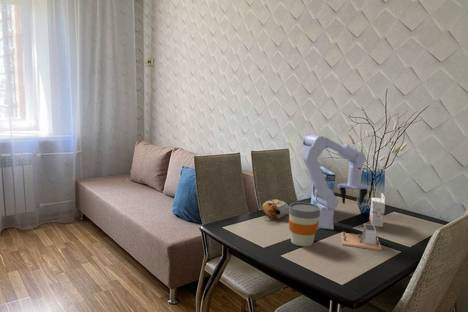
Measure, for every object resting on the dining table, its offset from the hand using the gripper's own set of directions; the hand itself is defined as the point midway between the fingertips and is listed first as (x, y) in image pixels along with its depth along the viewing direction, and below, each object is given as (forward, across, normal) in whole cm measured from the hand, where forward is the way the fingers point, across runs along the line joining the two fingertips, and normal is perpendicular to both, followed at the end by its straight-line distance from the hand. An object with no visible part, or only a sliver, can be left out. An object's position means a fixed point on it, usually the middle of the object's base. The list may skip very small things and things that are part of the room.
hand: (351, 203), depth 164 cm
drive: (+9, +3, -23) cm, 25 cm away
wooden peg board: (+9, 0, -23) cm, 25 cm away
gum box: (+10, -13, +12) cm, 20 cm away
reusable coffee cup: (+10, -25, -28) cm, 39 cm away
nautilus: (+10, -38, -1) cm, 39 cm away
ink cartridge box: (+10, +12, +2) cm, 16 cm away
